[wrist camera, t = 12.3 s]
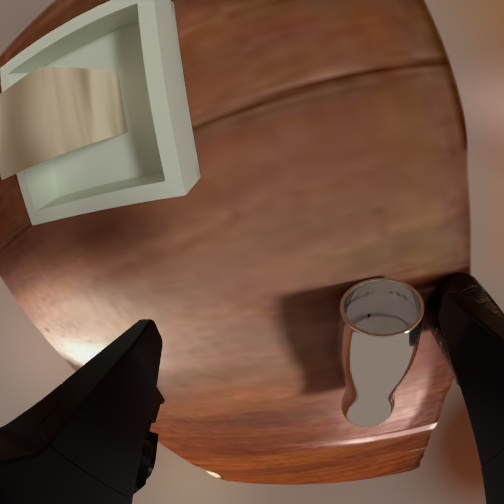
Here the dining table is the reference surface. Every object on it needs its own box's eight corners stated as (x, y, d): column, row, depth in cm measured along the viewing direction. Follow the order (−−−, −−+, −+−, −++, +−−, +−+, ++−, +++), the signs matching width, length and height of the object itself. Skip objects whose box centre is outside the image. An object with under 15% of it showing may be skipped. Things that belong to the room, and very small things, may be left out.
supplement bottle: (410, 322, 25) (454, 424, 14) (445, 263, 21) (517, 361, 11) (453, 329, 25) (497, 415, 15) (486, 278, 22) (548, 360, 11)
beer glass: (406, 419, 23) (443, 321, 16) (344, 438, 24) (352, 350, 17) (387, 372, 30) (403, 268, 22) (331, 387, 30) (326, 287, 23)
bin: (60, 206, 21) (32, 225, 17) (32, 66, 14) (0, 68, 11) (200, 177, 19) (185, 195, 16) (173, 3, 13) (152, -16, 10)
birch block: (78, 148, 17) (1, 180, 10) (68, 92, 15) (-13, 103, 8) (128, 132, 17) (53, 157, 10) (118, 71, 15) (39, 66, 8)
